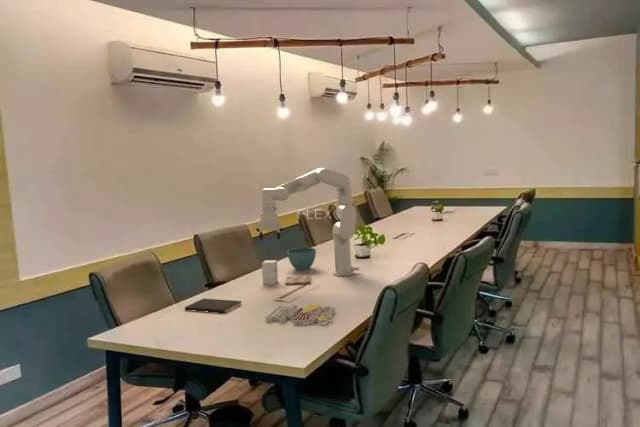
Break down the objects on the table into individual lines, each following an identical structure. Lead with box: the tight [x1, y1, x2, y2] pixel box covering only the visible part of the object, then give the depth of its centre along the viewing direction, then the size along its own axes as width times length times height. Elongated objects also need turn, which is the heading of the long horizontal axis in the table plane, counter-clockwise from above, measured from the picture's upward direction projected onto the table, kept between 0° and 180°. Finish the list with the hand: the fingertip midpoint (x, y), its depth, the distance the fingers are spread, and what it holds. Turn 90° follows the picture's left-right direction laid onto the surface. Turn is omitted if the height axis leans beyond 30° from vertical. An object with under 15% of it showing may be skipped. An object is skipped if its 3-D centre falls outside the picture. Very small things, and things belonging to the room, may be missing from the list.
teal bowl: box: [286, 247, 317, 272], centre depth 356 cm, size 18×18×12 cm
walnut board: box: [285, 275, 311, 286], centre depth 325 cm, size 14×16×1 cm
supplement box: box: [261, 259, 279, 285], centre depth 324 cm, size 7×7×13 cm
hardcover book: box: [184, 298, 242, 314], centre depth 279 cm, size 16×23×2 cm
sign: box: [265, 304, 336, 325], centre depth 256 cm, size 25×3×30 cm
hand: (270, 239), depth 323 cm, fingers open, 9 cm apart
